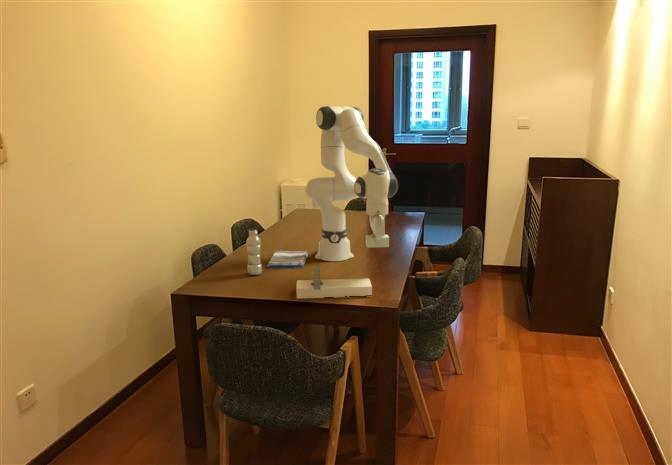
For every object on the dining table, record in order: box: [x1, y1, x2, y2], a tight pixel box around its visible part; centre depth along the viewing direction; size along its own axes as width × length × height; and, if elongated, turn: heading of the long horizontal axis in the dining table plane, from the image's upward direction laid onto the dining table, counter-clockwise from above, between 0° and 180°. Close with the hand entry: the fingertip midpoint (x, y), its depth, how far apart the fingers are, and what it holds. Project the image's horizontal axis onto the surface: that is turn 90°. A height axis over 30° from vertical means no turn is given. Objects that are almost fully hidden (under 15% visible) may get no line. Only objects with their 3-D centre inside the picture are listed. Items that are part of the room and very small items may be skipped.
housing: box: [295, 277, 373, 300], centre depth 211 cm, size 10×29×4 cm, turn 93°
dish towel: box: [266, 250, 309, 269], centre depth 256 cm, size 17×24×3 cm
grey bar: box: [312, 265, 322, 290], centre depth 210 cm, size 3×20×4 cm, turn 2°
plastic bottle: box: [245, 228, 263, 276], centre depth 234 cm, size 6×7×20 cm
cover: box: [365, 233, 390, 248], centre depth 220 cm, size 5×9×5 cm, turn 93°
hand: (377, 242), depth 220 cm, fingers closed on cover, 5 cm apart
